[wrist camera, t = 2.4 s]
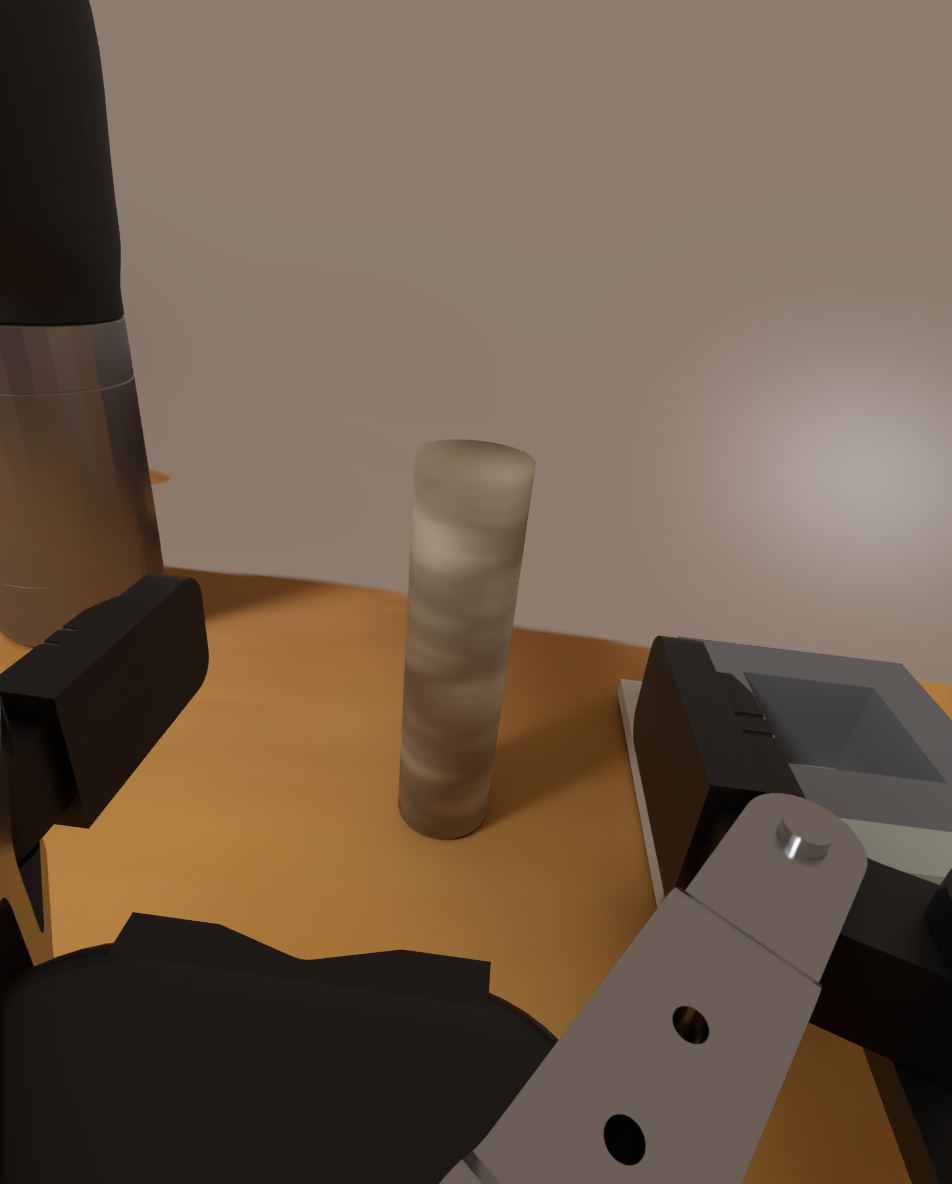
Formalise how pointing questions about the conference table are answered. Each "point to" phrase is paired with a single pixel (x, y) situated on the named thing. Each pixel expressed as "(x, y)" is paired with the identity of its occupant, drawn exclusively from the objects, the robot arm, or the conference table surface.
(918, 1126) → the robot arm
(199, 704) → the conference table surface
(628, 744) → the dowel dock
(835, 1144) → the conference table surface
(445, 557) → the dowel
